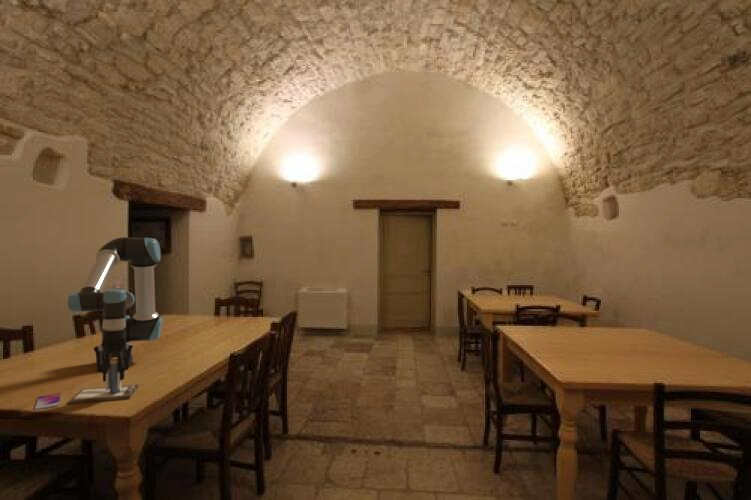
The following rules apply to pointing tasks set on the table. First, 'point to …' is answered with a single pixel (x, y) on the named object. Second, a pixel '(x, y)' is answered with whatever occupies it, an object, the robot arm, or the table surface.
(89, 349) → the table surface
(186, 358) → the table surface
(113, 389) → the blue cylinder
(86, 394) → the clipboard
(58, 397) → the smartphone
